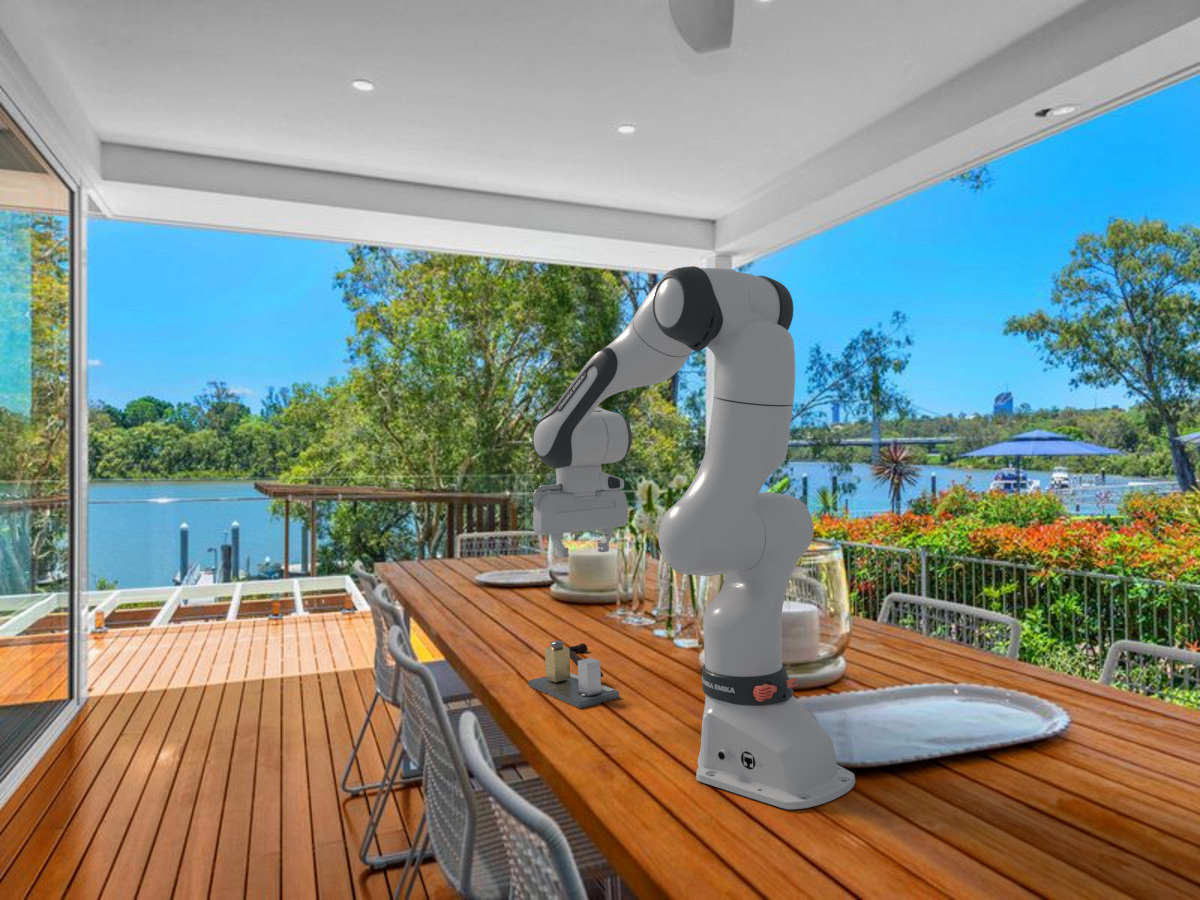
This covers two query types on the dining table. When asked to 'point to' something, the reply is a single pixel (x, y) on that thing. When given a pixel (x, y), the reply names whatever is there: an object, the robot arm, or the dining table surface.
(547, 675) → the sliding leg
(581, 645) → the wrench
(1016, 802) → the dining table surface
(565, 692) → the bolt plate
